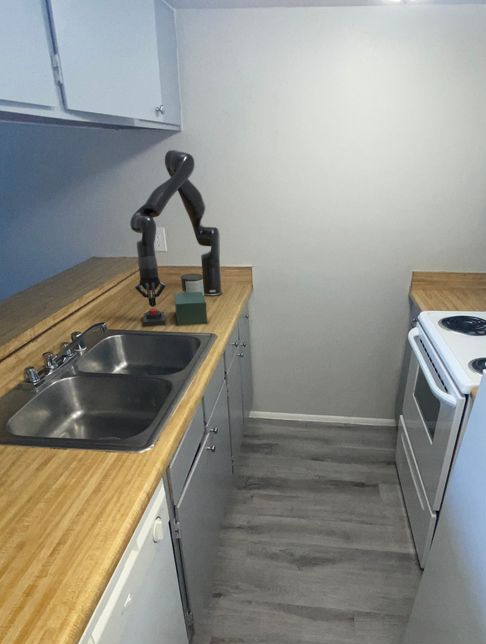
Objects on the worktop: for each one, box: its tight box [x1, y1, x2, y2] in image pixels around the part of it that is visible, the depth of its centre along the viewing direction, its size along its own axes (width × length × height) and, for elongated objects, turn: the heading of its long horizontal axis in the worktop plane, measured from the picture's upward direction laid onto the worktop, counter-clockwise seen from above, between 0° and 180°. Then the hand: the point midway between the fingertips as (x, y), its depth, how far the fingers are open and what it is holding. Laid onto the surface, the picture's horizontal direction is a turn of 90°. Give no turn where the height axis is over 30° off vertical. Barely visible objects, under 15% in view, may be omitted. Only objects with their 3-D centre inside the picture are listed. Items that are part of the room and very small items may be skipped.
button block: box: [142, 310, 166, 328], centre depth 207 cm, size 12×9×4 cm
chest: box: [173, 297, 208, 326], centre depth 209 cm, size 16×13×9 cm
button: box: [148, 308, 159, 314], centre depth 205 cm, size 4×4×2 cm
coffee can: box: [180, 273, 205, 297], centre depth 225 cm, size 10×10×14 cm
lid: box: [173, 292, 207, 306], centre depth 207 cm, size 16×13×1 cm
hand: (152, 306), depth 204 cm, fingers closed
